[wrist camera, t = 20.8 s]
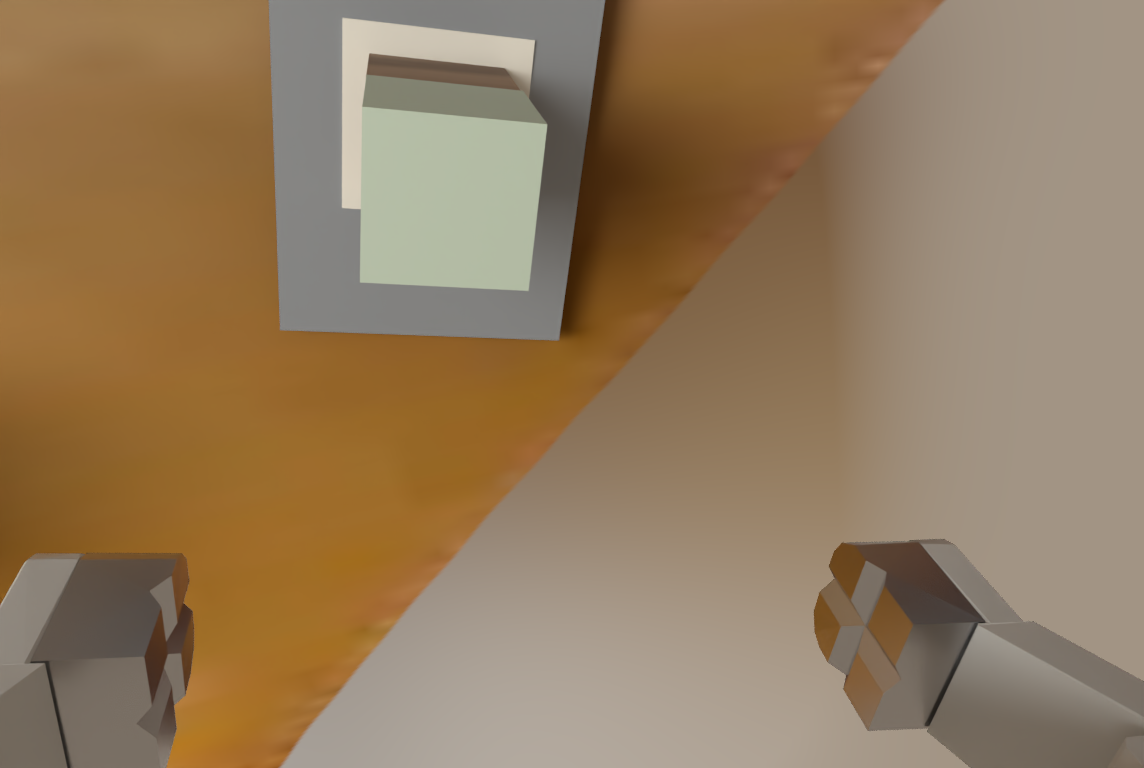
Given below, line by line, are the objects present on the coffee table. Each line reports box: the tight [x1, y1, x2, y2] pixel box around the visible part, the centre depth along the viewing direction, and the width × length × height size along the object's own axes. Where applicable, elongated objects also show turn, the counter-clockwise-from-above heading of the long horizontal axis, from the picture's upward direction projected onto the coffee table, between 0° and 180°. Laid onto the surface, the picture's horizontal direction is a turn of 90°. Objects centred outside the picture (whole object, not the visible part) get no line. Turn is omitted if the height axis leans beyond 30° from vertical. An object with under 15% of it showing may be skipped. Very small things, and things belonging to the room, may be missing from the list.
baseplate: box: [269, 0, 605, 340], centre depth 33 cm, size 18×12×1 cm, turn 172°
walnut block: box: [366, 53, 521, 91], centre depth 31 cm, size 5×5×5 cm
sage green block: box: [360, 75, 547, 291], centre depth 26 cm, size 5×5×5 cm
